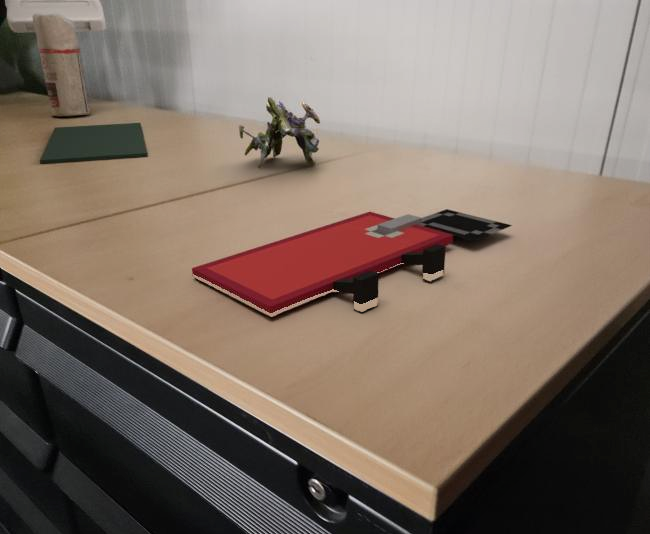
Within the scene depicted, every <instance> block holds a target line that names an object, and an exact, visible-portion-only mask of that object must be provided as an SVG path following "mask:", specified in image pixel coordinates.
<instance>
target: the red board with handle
mask: <svg viewBox="0 0 650 534" xmlns="http://www.w3.org/2000/svg"><path fill="white" fill-rule="evenodd" d="M512 226H513V225H512V224H509V223H505V222H501V221H496V220H493V219H489V218H484V217H480V216H476V215H472V214H469V213H463V212H460V211H456V210H451V209H448V208H446V209H444V210H440V211H437V212H435V213H432V214H429V215H426V216H423V217H420V216H417V215H414V214H413V215H412V214H409V213H407V214H404V215H402V216H401V215H400V216H399V217H396V218H394V217H392V216H388V215H383V214H381V213H376V212H374V211H367V212H364V213H360V214H358V215H354V216H350V217H348V218H345V219H342V220H339V221H336V222H332V223H329V224H327V225H323V226H320V227H317V228H314V229H310V230H308V231H304V232H301V233H298V234H294V235H292V236H288V237H285V238H282V239H279V240H275V241H272V242H269V243H267V244H263V245H261V246H256V247H254V248H251V249H247V250H245V251H241V252H238V253H235V254H231V255H227V256H225V257H223V258H219V259H216V260H213V261H210V262H207V263H204V264H200V265H197V266H193V267H192V268H191V272H192V275H193V274H194V275H196V276H198V277H201V278H203V279H205V280H207V281H209V282H211V283H212V284H215V285H217V286H219V287H221V288H222V289H225V290H227V291H229V292H230V293H233V294H235V295H237V296H239V297H240V298H242V299H244V300H246V301H249V302H251V303H252V304H254V305H256V306H257V307H259V308H261V309H264V310H265V311H267V312H269V313H273V312H275V311H277V310H280V309H282V308H284V307H288V306H290V305H292V304H295V303H297V302H300V301H302V300H305V299H307V298H310V297H313V296H315V295H318V294H321V293H324V292H327V291H330V290H332V289H334V290H337V291H339V292H342V293H341V294H349V295H352V302H353V301H355V302H357V303H359V304H363V303H366V302H368V301H370V300H373V299H375V298H377V297H378V298H379V274H378V273H377V272H381V271H383V270H385V269H389V268H390V267H393V266H395V265H397V264H400V263H404V264H407V265H406V266H422V268H421V273H422V272H423V273H428V274H434V273H436V272H438V271H441V270H444V271H445V263H446V248H447V246H446V245H448V244H451V243H453V241H454V237H456V238H457V237H458V238H461V239H464V240H468V241H471V242H477V241H479V240H482V239H484V238H486V237H488V236H491V235H493V234H496V233H498V232H500V231H501V232H502V231H503V230H505V229H508V228H510V227H512ZM451 245H452V244H451ZM448 246H449V245H448Z"/></svg>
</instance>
